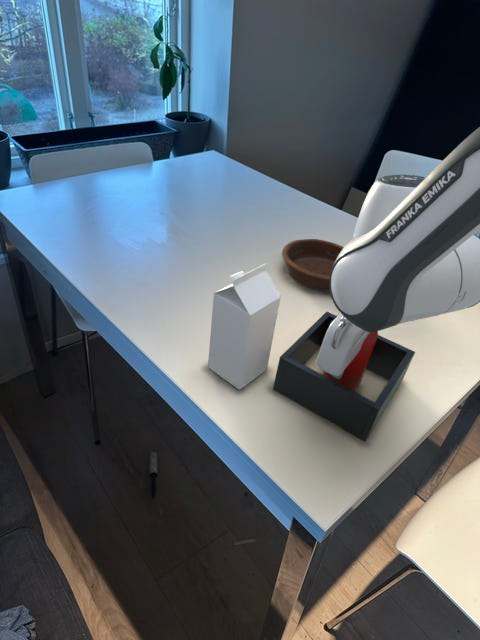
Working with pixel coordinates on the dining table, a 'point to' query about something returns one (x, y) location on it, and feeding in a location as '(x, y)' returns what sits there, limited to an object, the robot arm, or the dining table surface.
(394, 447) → the dining table surface
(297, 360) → the open box
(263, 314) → the milk carton
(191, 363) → the dining table surface
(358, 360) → the can
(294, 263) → the dish
